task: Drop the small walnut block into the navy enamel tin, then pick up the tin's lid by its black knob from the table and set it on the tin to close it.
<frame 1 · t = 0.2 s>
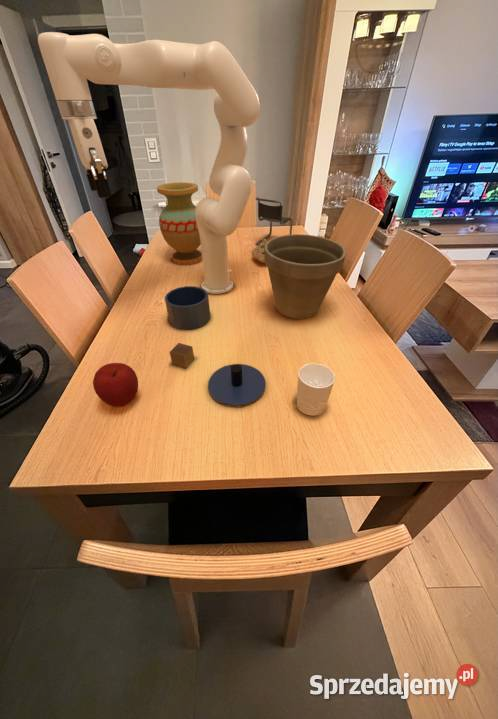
hand: (101, 193, 81), 37 cm above the table, tool pointing down, fingers open, 9 cm apart
vase: (187, 259, 140), on the table
oil lamp: (263, 261, 138), on the table
block: (183, 361, 84), on the table
apple: (123, 400, 74), on the table
tin: (190, 318, 101), on the table
white cup: (310, 405, 72), on the table
plant pot: (297, 309, 106), on the table
chair: (273, 242, 157), on the table
lid: (237, 384, 76), point 1 cm above the table
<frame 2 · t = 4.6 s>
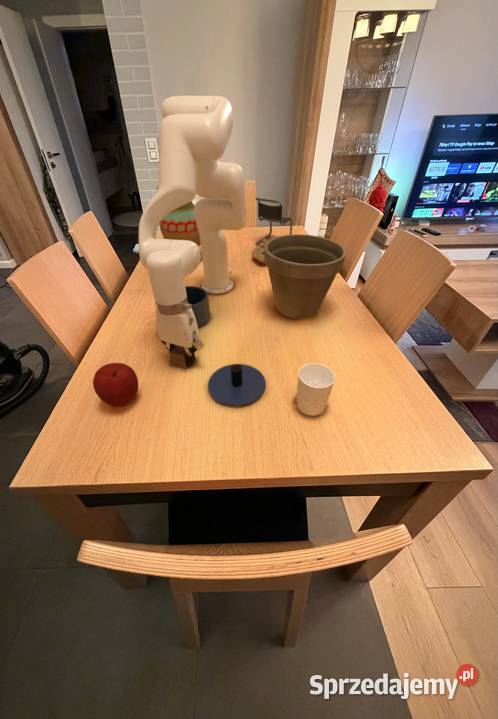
hand: (183, 360, 84), 0 cm above the table, tool pointing down, fingers closed on block, 4 cm apart
block: (183, 361, 84), on the table, touching gripper
everything else where it was.
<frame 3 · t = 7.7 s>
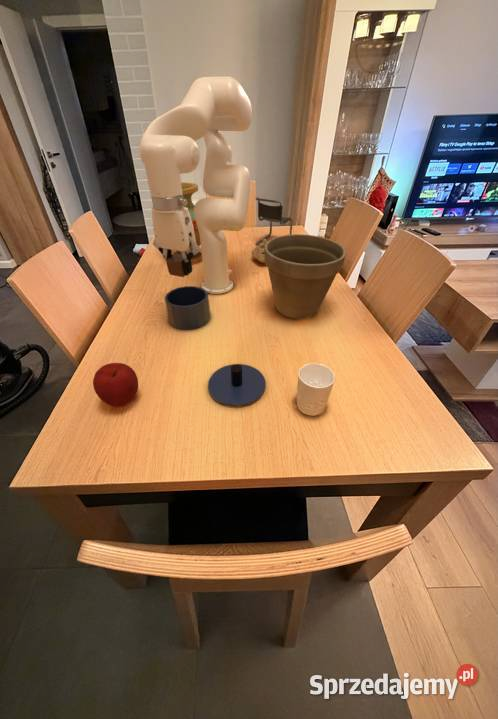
hand: (180, 271, 85), 19 cm above the table, tool pointing down, fingers closed on block, 4 cm apart
block: (180, 272, 86), point 18 cm above the table, touching gripper
everything else where it was.
when the fingers open (8 cm above the table, at t = 11.0 s): block drops 7 cm, resting on tin.
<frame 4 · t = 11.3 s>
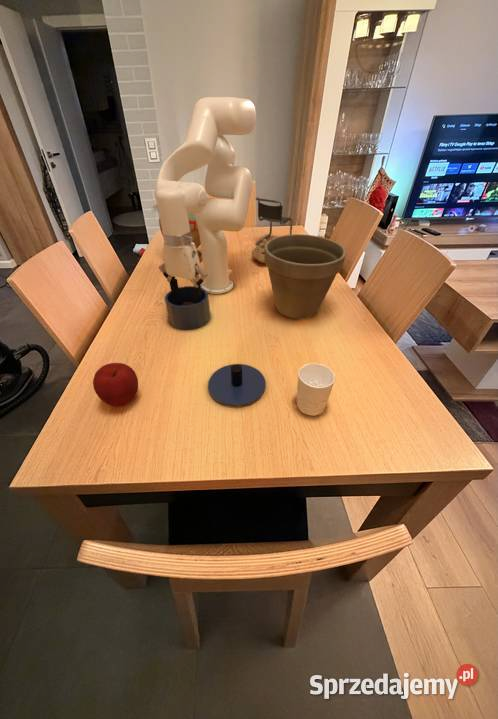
hand: (186, 294, 95), 9 cm above the table, tool pointing down, fingers open, 7 cm apart
block: (189, 317, 101), resting on tin
everything else where it was.
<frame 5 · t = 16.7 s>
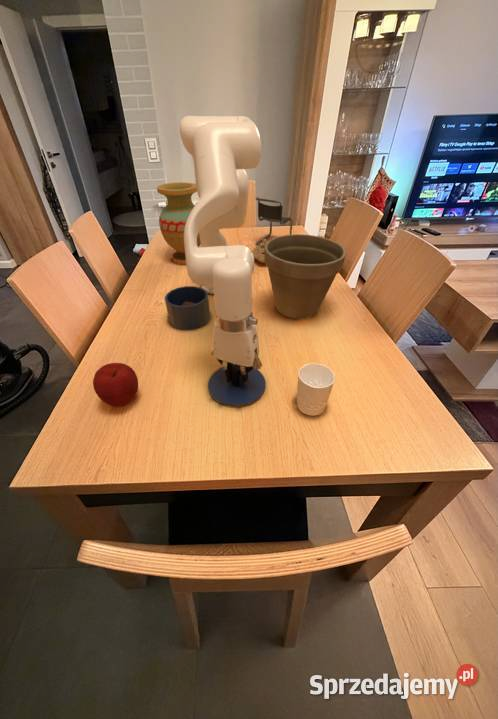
hand: (236, 380, 75), 2 cm above the table, tool pointing down, fingers closed on lid, 2 cm apart
lid: (237, 384, 76), point 1 cm above the table, touching gripper
everything else where it was.
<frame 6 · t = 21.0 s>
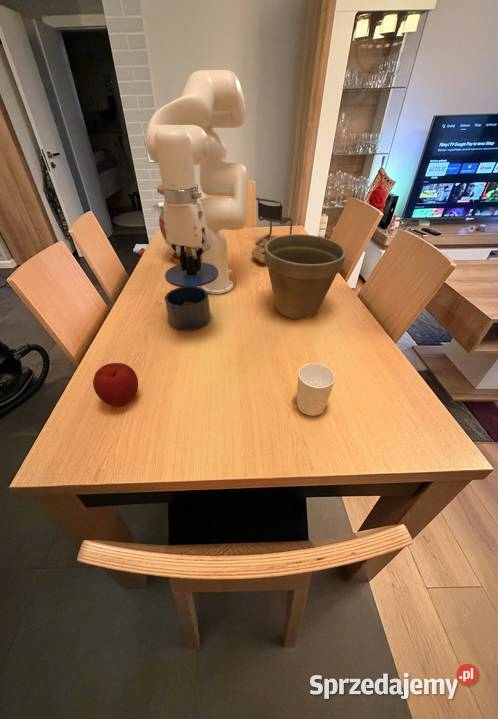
hand: (191, 269, 82), 21 cm above the table, tool pointing down, fingers closed on lid, 2 cm apart
lid: (192, 274, 83), point 19 cm above the table, touching gripper
everything else where it was.
when the fingers open (10 cm above the table, at t = 25.2 s): lid stays where it is, resting on tin.
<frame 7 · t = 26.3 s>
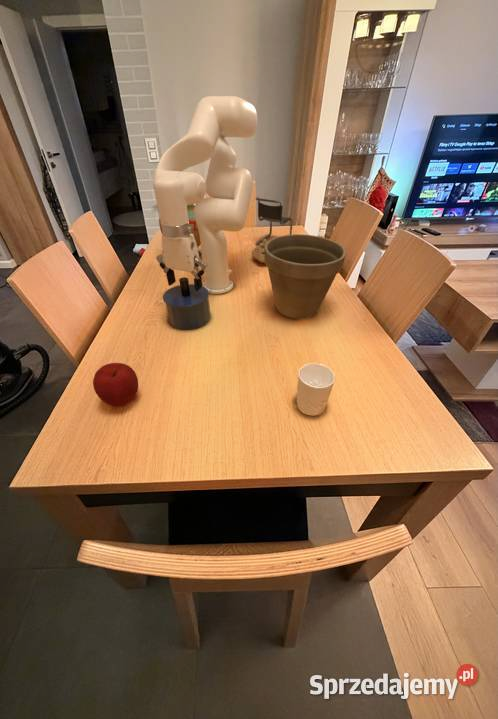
hand: (185, 286, 94), 12 cm above the table, tool pointing down, fingers open, 9 cm apart
lid: (186, 296, 96), point 8 cm above the table, touching tin
everything else where it was.
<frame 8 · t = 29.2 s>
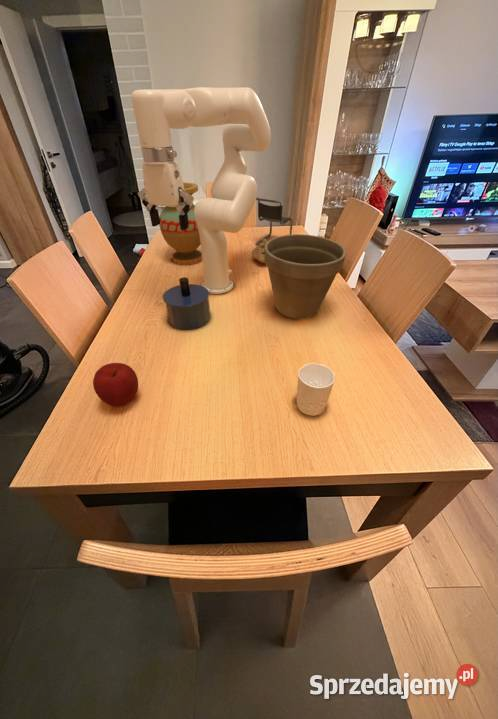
hand: (170, 227, 86), 28 cm above the table, tool pointing down, fingers open, 9 cm apart
nothing on the table moved.
at the end: block inside the target area in the tin (0.0 cm from its centre), point 0.5 cm above the tin's base; lid 0.1 cm off-centre on the tin, point 8.5 cm above the tin's base; lid tilted 0° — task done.
